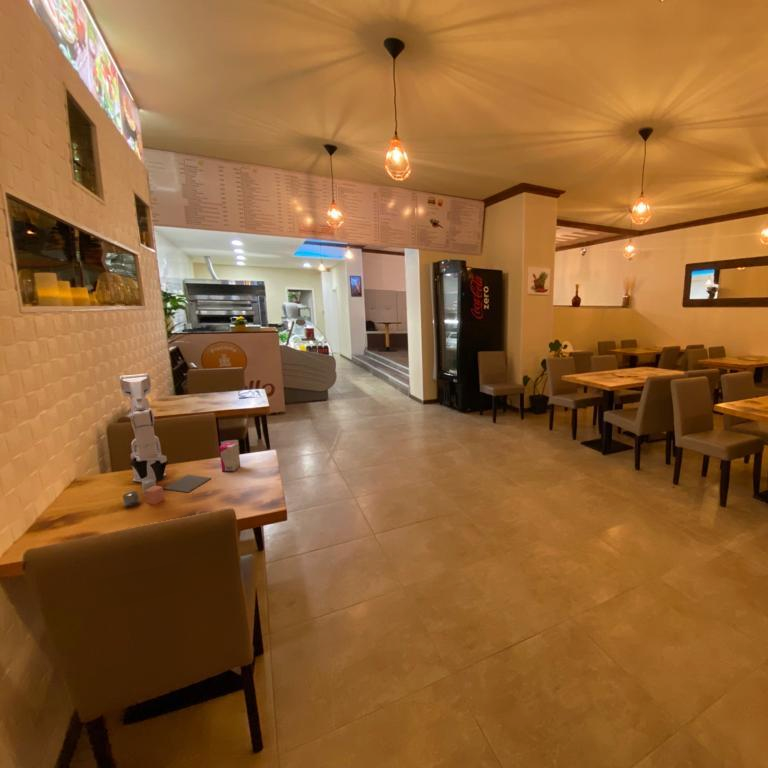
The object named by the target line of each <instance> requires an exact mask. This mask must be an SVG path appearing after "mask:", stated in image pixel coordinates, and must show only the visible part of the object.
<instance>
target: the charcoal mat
mask: <svg viewBox="0 0 768 768" xmlns="http://www.w3.org/2000/svg"><path fill="white" fill-rule="evenodd" d="M211 479H212V478H211V477H207V476H206V477H205V476H199V475H193V474H187V475H184V476H182V477H181V478H179V479H177V480H176V481H174V482H172V483H170V484H168V485H166V486H164V487H163V490H167V491H176V492H180V493H186V494H189V493H190V492H192V491H193V490H195V489H197V488H199V487H200V486H202V485H203V484H205V483H206V482H208V481H210V480H211Z"/></svg>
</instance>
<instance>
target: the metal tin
mask: <svg viewBox="0 0 768 768" xmlns="http://www.w3.org/2000/svg"><path fill="white" fill-rule="evenodd" d="M122 499H123V505H124V507H125V508H133V507H135V506H138V505H139V504H140V499H139V493H138V491H137V490H135V491H134V490H133V491H129V492H126V493H124V494H123V495H122Z"/></svg>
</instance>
